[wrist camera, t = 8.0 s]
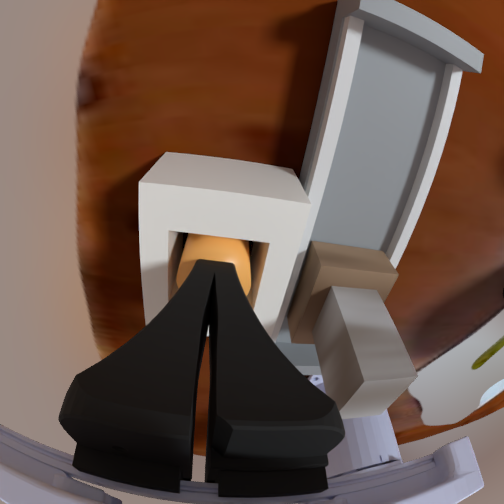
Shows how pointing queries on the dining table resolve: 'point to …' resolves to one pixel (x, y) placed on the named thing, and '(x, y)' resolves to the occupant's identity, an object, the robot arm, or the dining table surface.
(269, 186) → the white hollow block
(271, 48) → the dining table surface
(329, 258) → the carriage
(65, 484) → the robot arm
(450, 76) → the rail track
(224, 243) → the orange egg
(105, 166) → the dining table surface
